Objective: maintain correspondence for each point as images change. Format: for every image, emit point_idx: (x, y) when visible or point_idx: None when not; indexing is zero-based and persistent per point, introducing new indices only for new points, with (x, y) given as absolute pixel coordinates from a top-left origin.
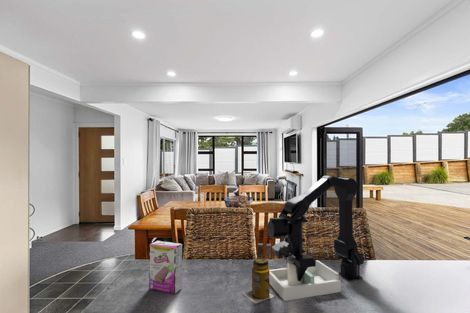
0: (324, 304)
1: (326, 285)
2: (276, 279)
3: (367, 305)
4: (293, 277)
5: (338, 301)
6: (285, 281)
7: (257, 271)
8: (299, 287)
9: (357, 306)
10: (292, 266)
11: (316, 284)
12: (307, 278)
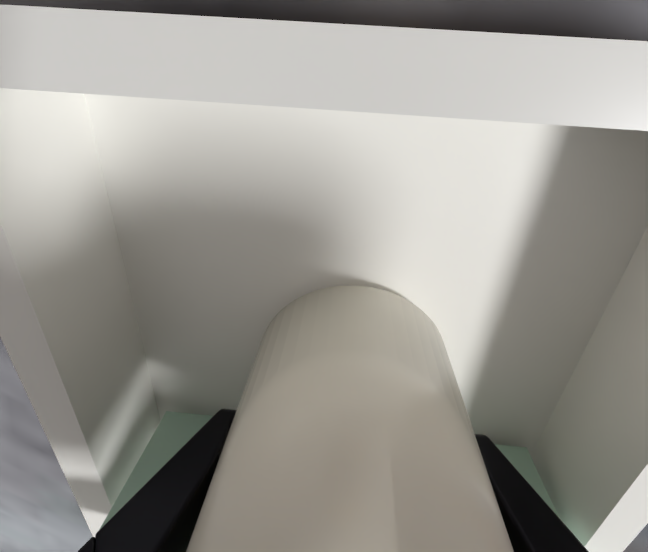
0: (13, 381)
1: None
2: (348, 57)
3: (24, 543)
4: (248, 405)
5: (62, 470)
6: (466, 301)
7: None
8: (11, 325)
9: (8, 509)
10: None
11: (87, 506)
12: None
